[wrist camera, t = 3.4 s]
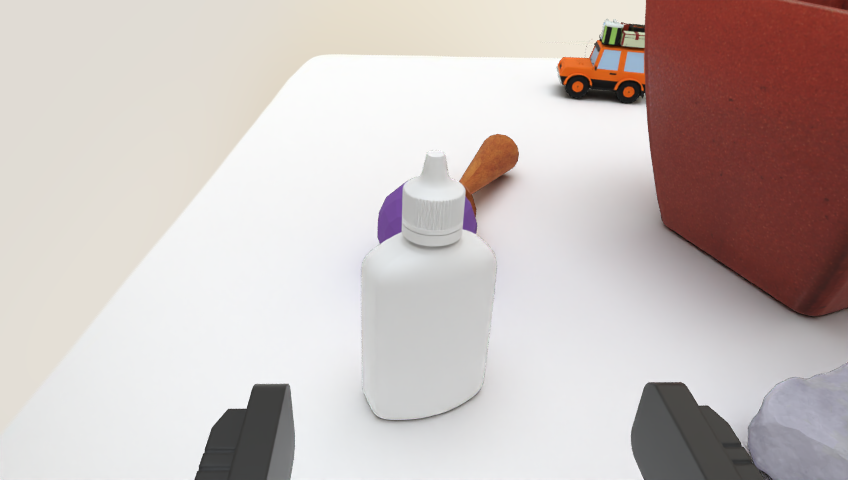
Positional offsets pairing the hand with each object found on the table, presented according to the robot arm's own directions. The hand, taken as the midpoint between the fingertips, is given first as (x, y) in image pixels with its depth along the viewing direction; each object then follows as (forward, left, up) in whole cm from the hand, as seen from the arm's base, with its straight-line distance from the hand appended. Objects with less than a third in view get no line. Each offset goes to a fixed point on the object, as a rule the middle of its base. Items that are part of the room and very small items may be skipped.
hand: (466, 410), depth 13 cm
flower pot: (+13, +33, -10) cm, 37 cm away
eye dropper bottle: (-5, +10, -10) cm, 15 cm away
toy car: (-4, +66, -10) cm, 67 cm away
